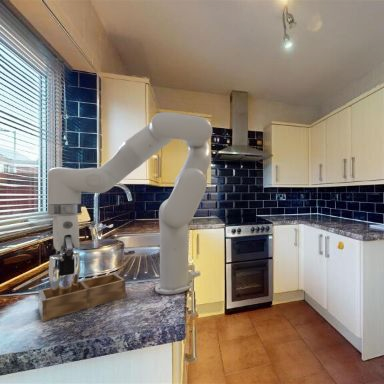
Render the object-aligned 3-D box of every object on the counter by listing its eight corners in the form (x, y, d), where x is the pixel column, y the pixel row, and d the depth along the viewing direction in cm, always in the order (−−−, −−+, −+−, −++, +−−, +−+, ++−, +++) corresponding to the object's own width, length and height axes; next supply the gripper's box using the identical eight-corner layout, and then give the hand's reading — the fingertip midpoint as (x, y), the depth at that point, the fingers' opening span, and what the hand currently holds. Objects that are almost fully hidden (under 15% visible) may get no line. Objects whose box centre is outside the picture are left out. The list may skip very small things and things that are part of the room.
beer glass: (61, 314, 62) (62, 258, 63) (41, 311, 64) (41, 257, 64) (85, 302, 69) (85, 252, 69) (66, 300, 70) (67, 251, 71)
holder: (115, 288, 80) (115, 273, 81) (125, 296, 74) (125, 279, 74) (38, 309, 66) (38, 290, 66) (42, 321, 59) (42, 300, 59)
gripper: (87, 210, 64) (87, 275, 63) (75, 209, 76) (74, 263, 75) (51, 212, 58) (51, 282, 58) (44, 210, 70) (43, 268, 70)
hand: (64, 271), depth 67 cm, fingers closed on beer glass, 7 cm apart
